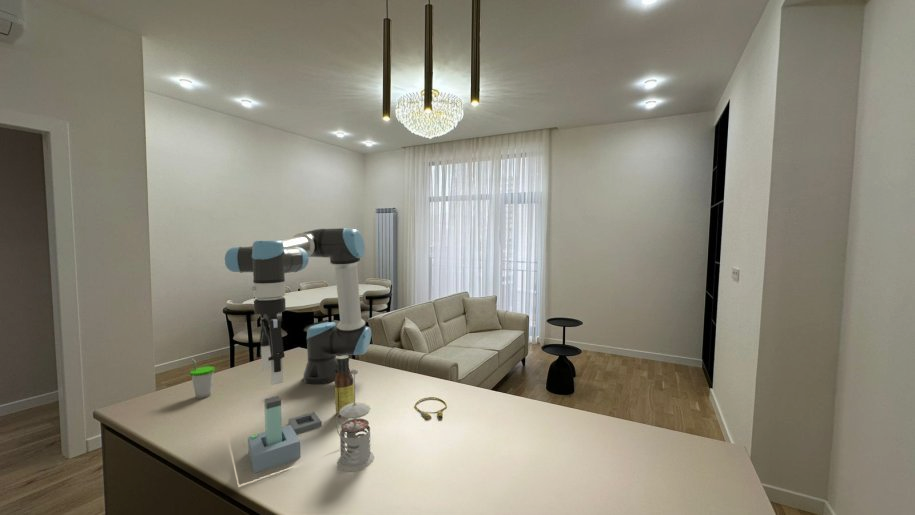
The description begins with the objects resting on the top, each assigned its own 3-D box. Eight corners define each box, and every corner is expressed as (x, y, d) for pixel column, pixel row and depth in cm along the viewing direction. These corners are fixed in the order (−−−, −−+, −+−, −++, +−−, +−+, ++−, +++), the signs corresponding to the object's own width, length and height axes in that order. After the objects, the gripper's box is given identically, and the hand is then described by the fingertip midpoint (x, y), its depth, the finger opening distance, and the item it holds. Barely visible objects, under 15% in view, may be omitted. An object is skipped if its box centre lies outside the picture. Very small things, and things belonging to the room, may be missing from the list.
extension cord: (406, 419, 121) (406, 413, 120) (420, 398, 136) (420, 393, 136) (441, 422, 118) (441, 417, 118) (452, 401, 133) (452, 396, 133)
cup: (219, 394, 139) (218, 356, 138) (196, 402, 132) (194, 362, 131) (210, 390, 143) (208, 353, 142) (187, 397, 136) (185, 358, 136)
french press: (354, 476, 91) (352, 378, 89) (324, 461, 97) (322, 369, 96) (381, 456, 99) (380, 366, 98) (352, 443, 105) (351, 359, 104)
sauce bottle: (358, 412, 124) (357, 355, 123) (346, 420, 119) (345, 361, 118) (344, 408, 127) (343, 353, 126) (331, 416, 121) (329, 358, 120)
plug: (279, 449, 101) (278, 395, 101) (282, 455, 98) (280, 400, 98) (265, 454, 99) (264, 399, 98) (268, 460, 96) (266, 403, 96)
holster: (314, 417, 121) (314, 411, 120) (321, 427, 114) (321, 421, 114) (288, 425, 116) (288, 419, 116) (294, 435, 109) (294, 429, 109)
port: (291, 441, 107) (290, 423, 106) (300, 459, 98) (300, 439, 97) (248, 454, 100) (247, 435, 100) (254, 475, 91) (253, 454, 91)
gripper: (247, 293, 104) (249, 365, 106) (261, 306, 85) (264, 394, 86) (275, 291, 109) (277, 360, 110) (296, 302, 89) (298, 386, 90)
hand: (271, 375), depth 98 cm, fingers open, 13 cm apart
